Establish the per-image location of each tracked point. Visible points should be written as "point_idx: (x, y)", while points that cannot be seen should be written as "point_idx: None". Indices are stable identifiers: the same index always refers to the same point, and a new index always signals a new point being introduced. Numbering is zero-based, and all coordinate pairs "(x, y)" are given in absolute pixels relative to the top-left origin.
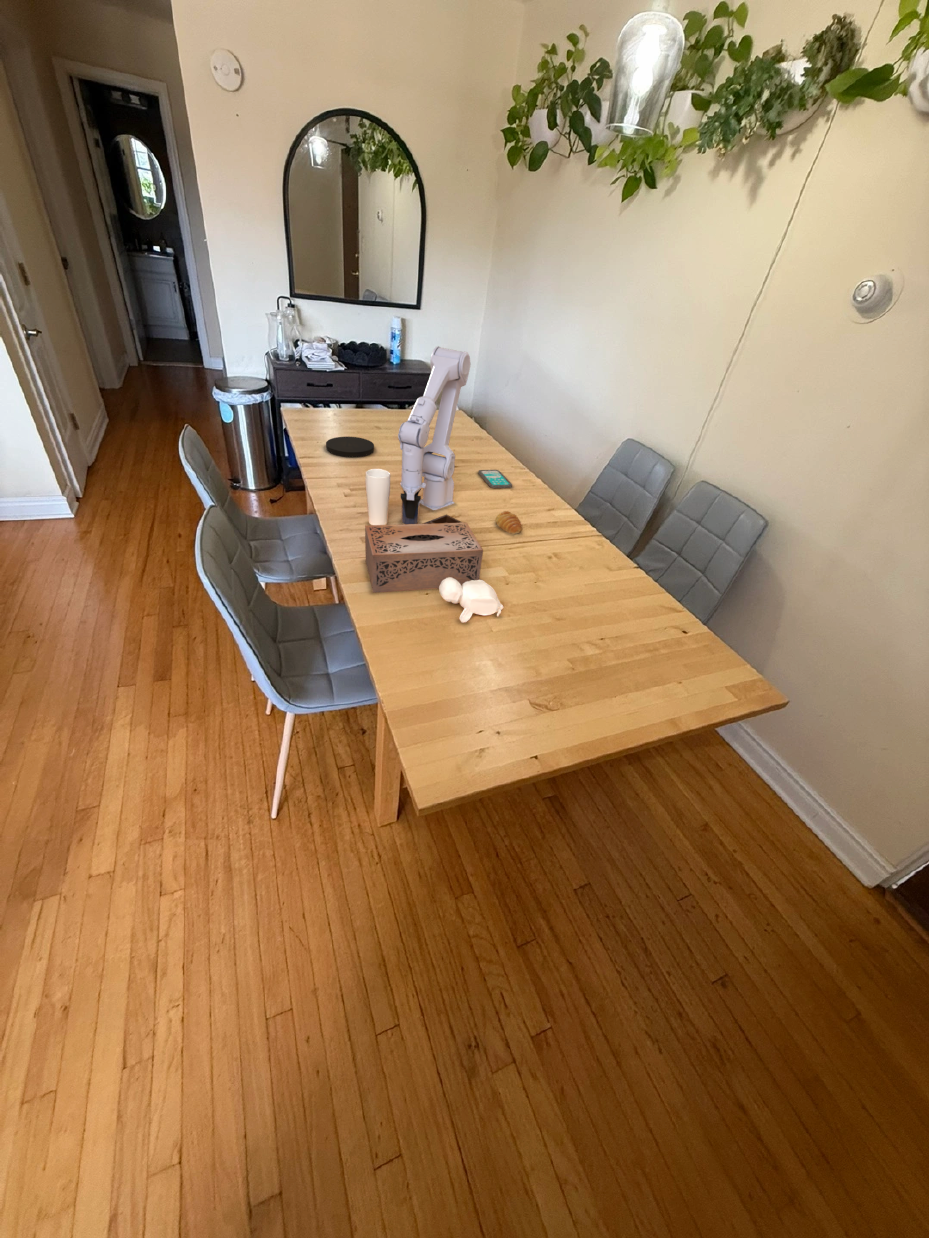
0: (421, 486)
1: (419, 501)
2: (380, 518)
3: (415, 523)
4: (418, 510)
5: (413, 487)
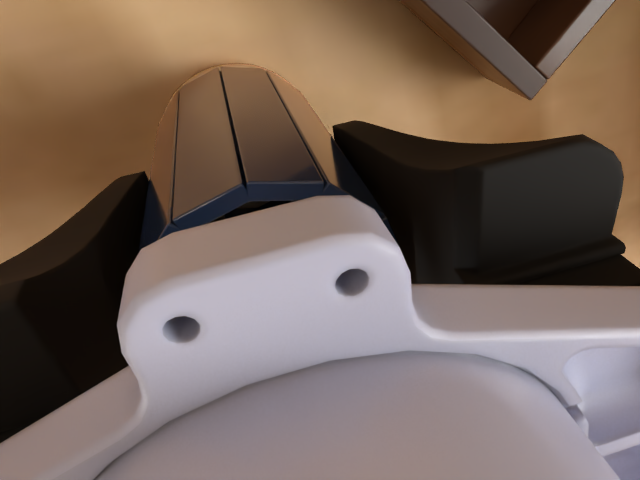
0: (428, 318)
1: (248, 155)
2: None
3: (287, 84)
4: (264, 109)
5: (584, 430)
